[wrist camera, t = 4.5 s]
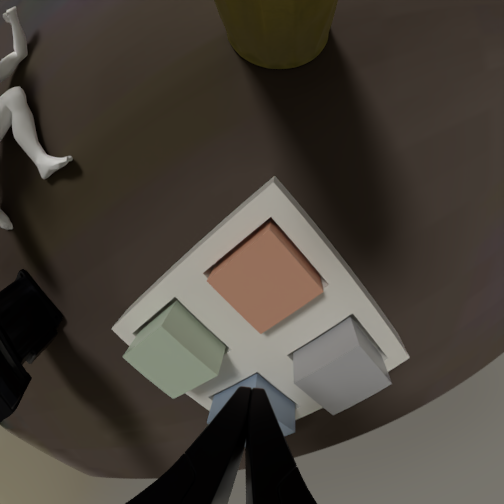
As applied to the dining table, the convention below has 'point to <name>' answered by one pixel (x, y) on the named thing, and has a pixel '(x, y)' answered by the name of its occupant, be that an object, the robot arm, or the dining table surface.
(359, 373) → the key grey
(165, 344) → the key sage
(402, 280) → the dining table surface
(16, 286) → the robot arm
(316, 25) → the vase
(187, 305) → the keypad
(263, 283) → the key terracotta
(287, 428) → the key slate
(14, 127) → the person figurine
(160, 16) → the dining table surface
